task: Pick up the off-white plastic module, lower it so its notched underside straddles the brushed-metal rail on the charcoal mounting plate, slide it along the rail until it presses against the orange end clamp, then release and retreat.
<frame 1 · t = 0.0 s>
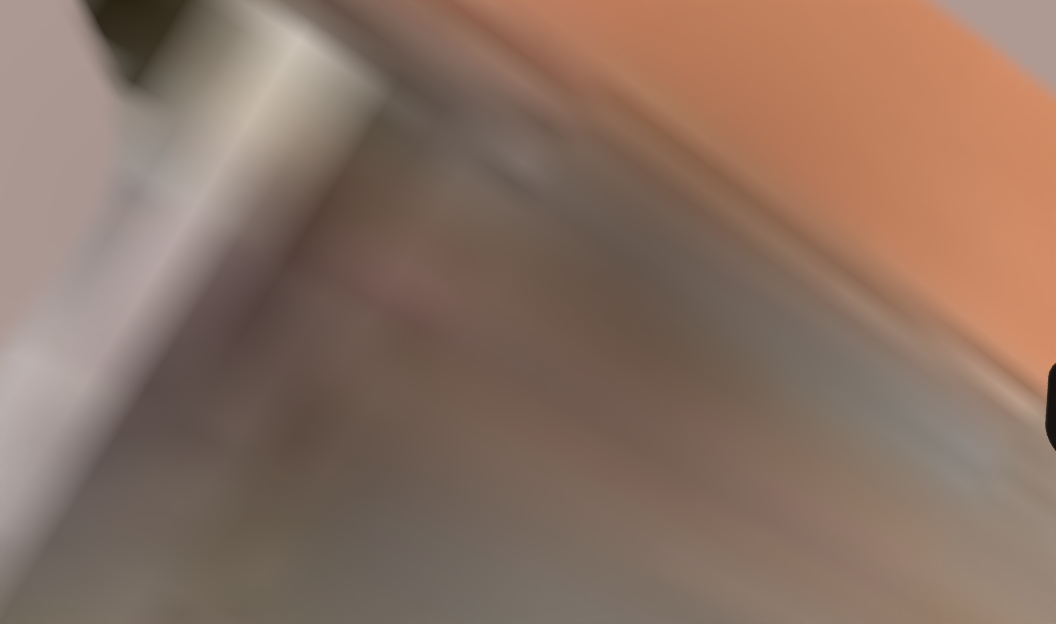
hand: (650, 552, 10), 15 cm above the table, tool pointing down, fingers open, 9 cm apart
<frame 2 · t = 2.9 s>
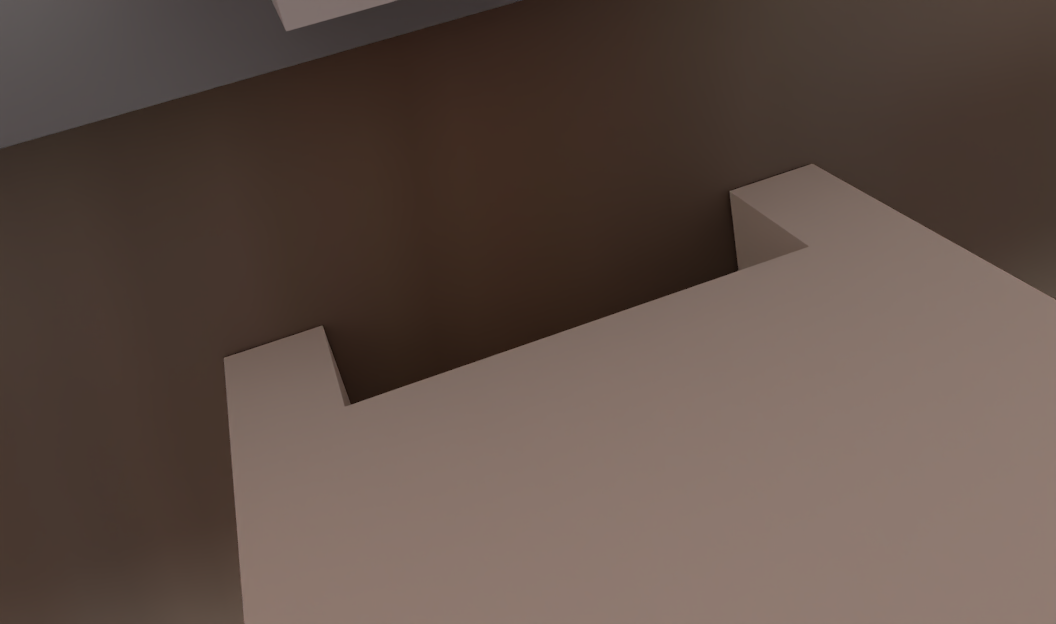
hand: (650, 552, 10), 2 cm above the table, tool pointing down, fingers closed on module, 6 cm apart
module: (572, 427, 11), on the table, touching gripper
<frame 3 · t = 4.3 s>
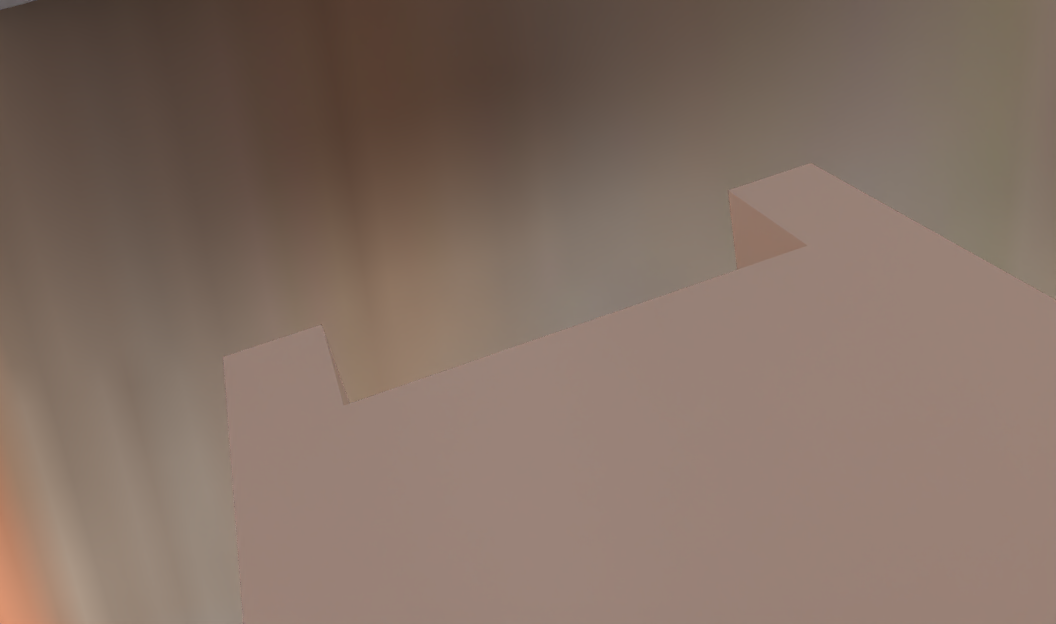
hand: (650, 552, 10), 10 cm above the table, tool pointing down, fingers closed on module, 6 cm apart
module: (571, 426, 12), point 8 cm above the table, touching gripper
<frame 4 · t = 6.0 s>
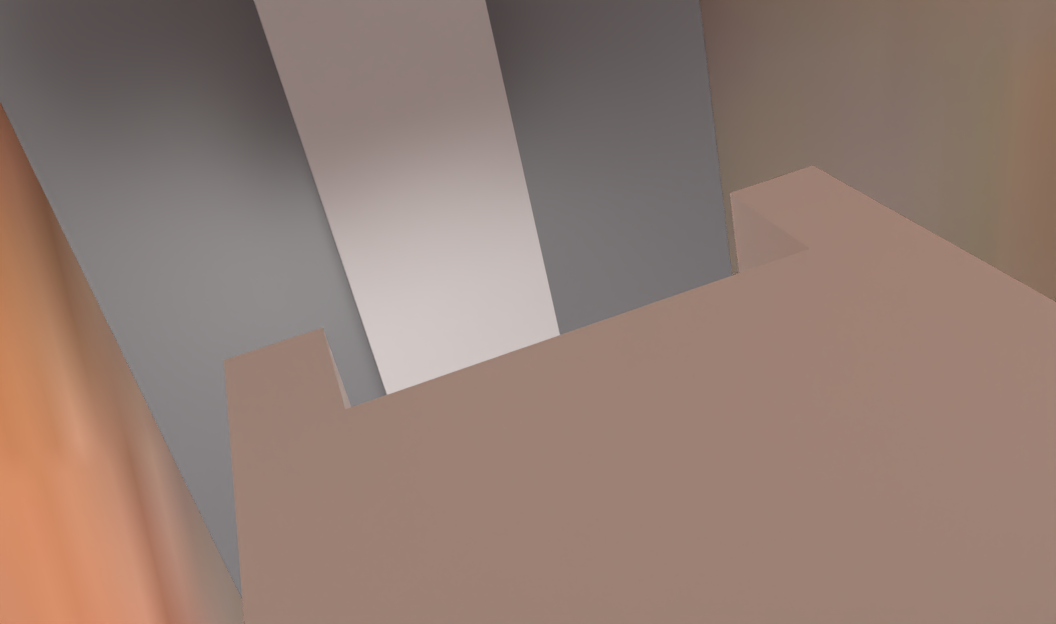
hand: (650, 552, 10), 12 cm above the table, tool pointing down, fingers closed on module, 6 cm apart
rail plate: (407, 172, 19), on the table
module: (572, 429, 11), point 9 cm above the table, touching gripper
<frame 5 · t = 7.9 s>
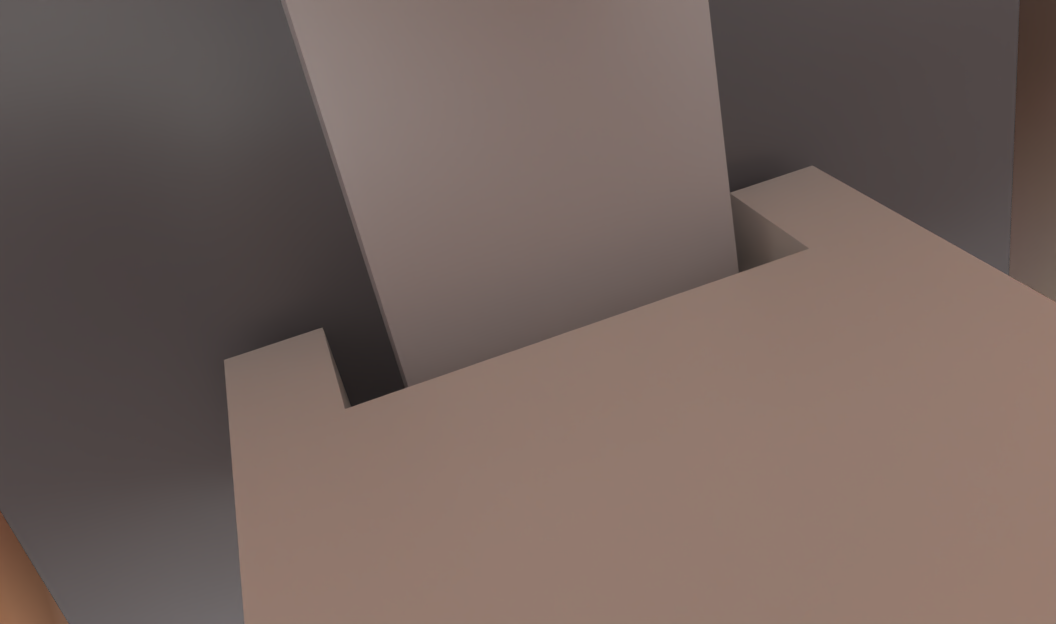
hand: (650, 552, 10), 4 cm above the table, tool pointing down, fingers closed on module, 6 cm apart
rail plate: (562, 446, 13), on the table
module: (572, 429, 11), point 1 cm above the table, touching gripper
when the fingers open (4 cm above the table, at t = 9.4 s): module stays where it is, resting on rail plate.
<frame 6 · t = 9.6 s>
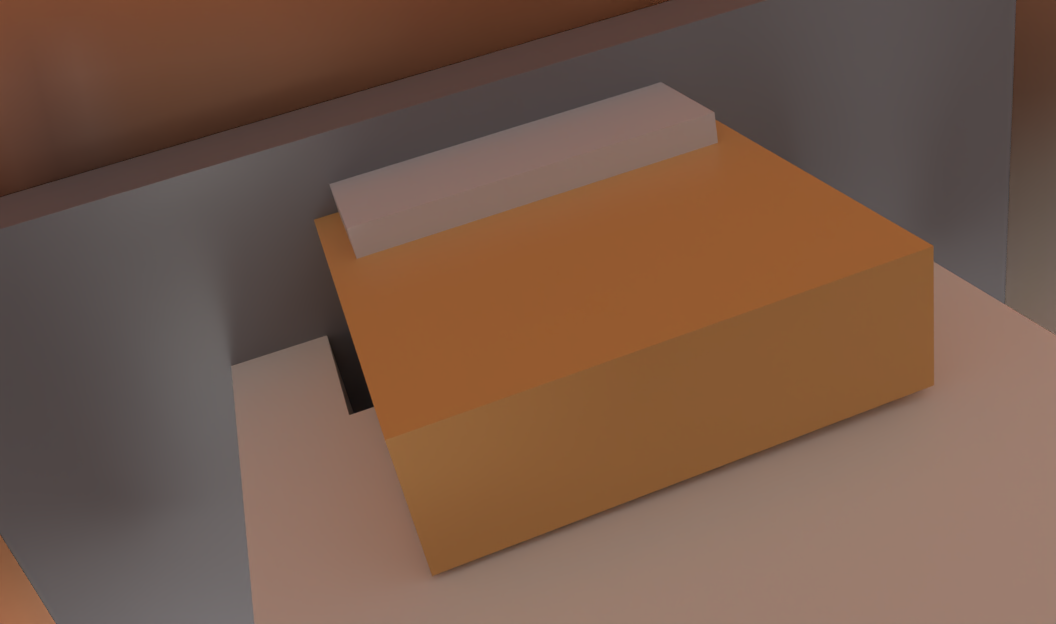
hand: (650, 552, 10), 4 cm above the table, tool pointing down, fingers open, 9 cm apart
module: (567, 435, 12), point 1 cm above the table, touching rail plate
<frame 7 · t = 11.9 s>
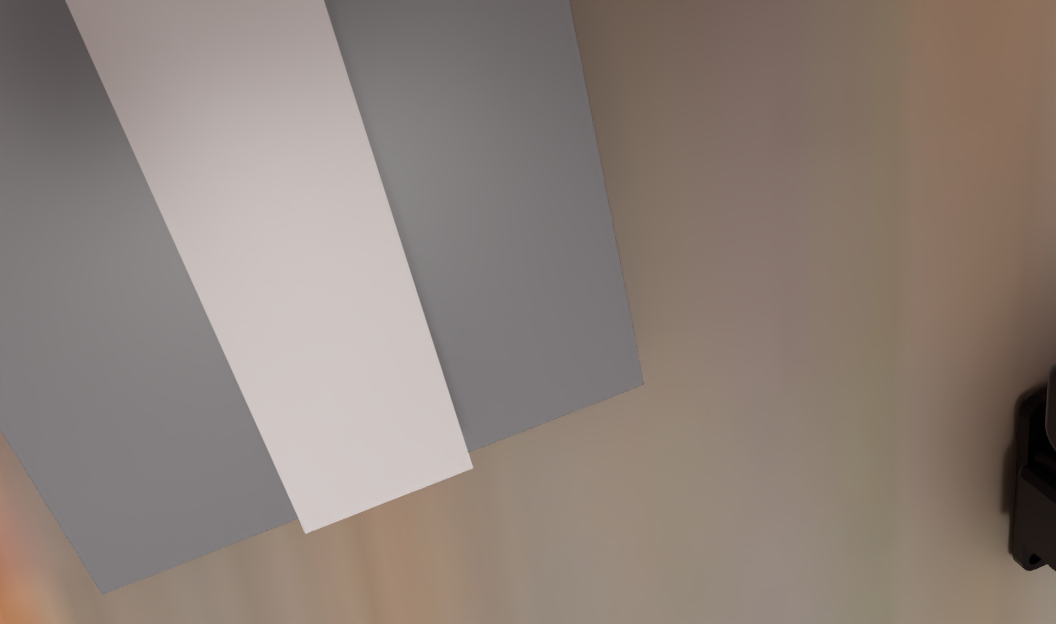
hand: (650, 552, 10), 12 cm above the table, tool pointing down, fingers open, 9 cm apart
rail plate: (205, 6, 17), on the table
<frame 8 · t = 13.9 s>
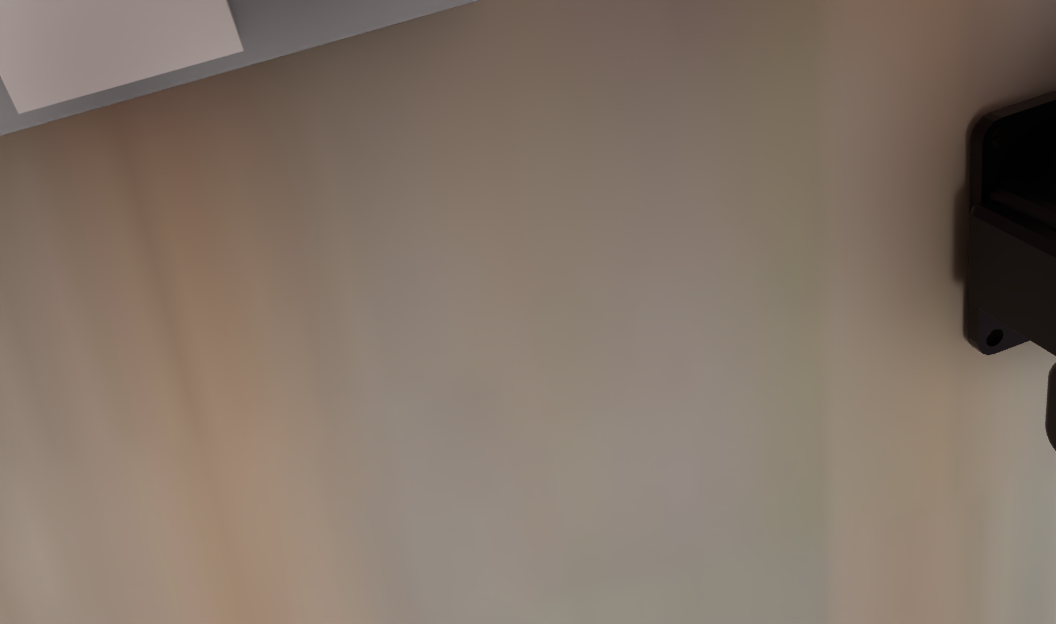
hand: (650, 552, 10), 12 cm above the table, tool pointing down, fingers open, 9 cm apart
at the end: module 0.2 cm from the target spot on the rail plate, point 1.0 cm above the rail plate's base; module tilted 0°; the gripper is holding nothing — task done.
